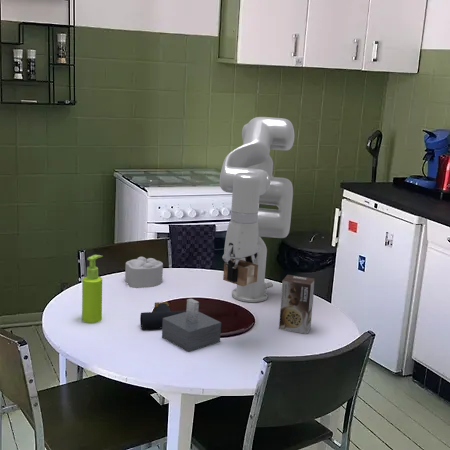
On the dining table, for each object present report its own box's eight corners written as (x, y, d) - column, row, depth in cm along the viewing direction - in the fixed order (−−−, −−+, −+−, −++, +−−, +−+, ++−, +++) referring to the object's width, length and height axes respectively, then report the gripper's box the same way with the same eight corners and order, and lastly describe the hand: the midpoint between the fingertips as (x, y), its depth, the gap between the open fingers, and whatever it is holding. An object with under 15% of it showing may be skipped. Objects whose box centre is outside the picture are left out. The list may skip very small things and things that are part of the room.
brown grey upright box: (311, 327, 205) (316, 278, 201) (306, 334, 199) (311, 284, 195) (282, 321, 208) (287, 273, 204) (277, 329, 202) (282, 279, 198)
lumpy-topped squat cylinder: (123, 279, 237) (123, 256, 235) (156, 276, 243) (157, 254, 241) (131, 289, 228) (132, 265, 226) (166, 285, 234) (167, 262, 232)
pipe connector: (137, 301, 203) (184, 299, 208) (136, 317, 205) (183, 314, 209) (143, 316, 193) (192, 313, 197) (142, 332, 194) (191, 329, 198)
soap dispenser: (107, 317, 203) (108, 255, 198) (94, 324, 196) (94, 261, 191) (91, 313, 205) (92, 252, 200) (78, 320, 199) (78, 257, 194)
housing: (193, 327, 198) (195, 290, 196) (219, 341, 190) (222, 302, 187) (161, 337, 190) (163, 298, 188) (188, 352, 182) (190, 311, 179)
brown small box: (237, 275, 191) (238, 258, 190) (256, 281, 186) (258, 264, 185) (223, 279, 186) (224, 263, 185) (242, 286, 182) (244, 269, 180)
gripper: (253, 210, 190) (248, 269, 195) (213, 218, 177) (210, 281, 182) (273, 215, 186) (268, 275, 190) (234, 224, 173) (230, 288, 177)
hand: (240, 277), depth 186 cm, fingers closed on brown small box, 6 cm apart
